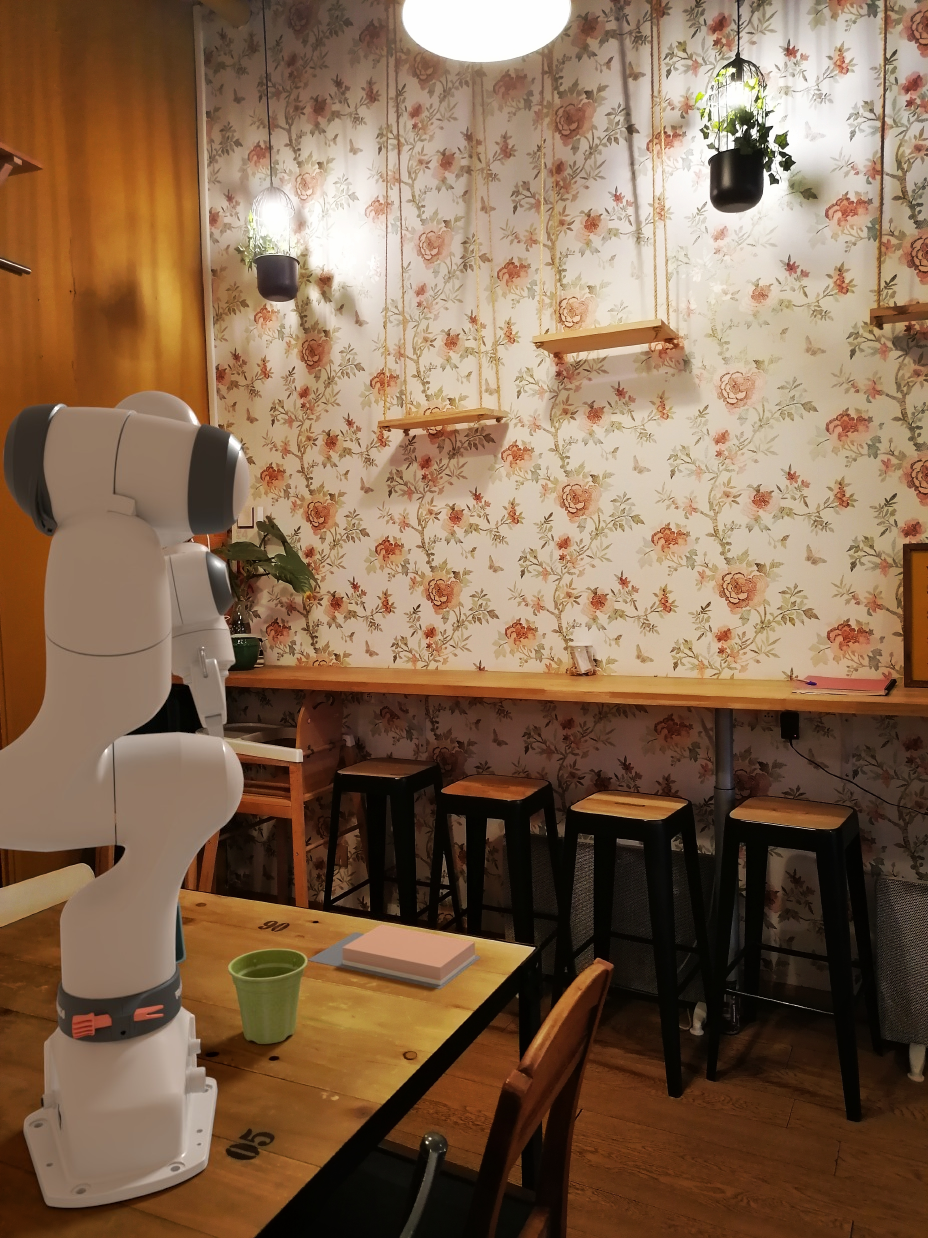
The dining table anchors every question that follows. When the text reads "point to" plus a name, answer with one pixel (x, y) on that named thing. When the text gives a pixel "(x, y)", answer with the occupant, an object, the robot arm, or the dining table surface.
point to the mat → (335, 958)
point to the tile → (409, 954)
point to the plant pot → (268, 992)
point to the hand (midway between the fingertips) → (219, 752)
